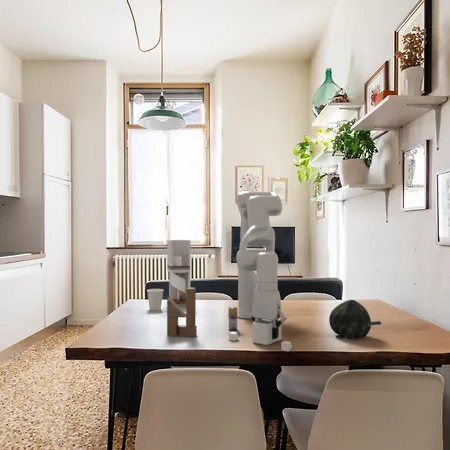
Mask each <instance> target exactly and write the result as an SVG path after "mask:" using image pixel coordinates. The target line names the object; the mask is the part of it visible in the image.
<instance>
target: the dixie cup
mask: <svg viewBox="0 0 450 450" xmlns="http://www.w3.org/2000/svg"><path fill="white" fill-rule="evenodd" d="M146 292H147V299H148V307H149V311H152V312H153V311H155V312H157V311H161V310H162V303H163V297H164V296H163V293H164V289H162V288H149V289H147V290H146Z"/></svg>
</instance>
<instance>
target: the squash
mask: <svg viewBox="0 0 450 450" xmlns="http://www.w3.org/2000/svg"><path fill="white" fill-rule="evenodd" d="M370 316H371V315H370V313H369V311H368V310H367V309H366V308H365V306H364V305H363V304H361V303H360V302H359V301H357V300H355V299H348V300H346V301H344V302H342V303H340V304H337V306H336V307H334V308H333V309H332V311H331V312H330V314H329V317H328V323H329V327H330V329H331V330H332V331H333V332H334V333H335V334H337V335H338V336H343V337H346V338H347V339H350V340H352V339H355V340H359V339H360V338H365V337H366V336H367V335H368V334H369V333H370V331H371V328H372V325H371V322H372V319H371V317H370Z"/></svg>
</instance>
